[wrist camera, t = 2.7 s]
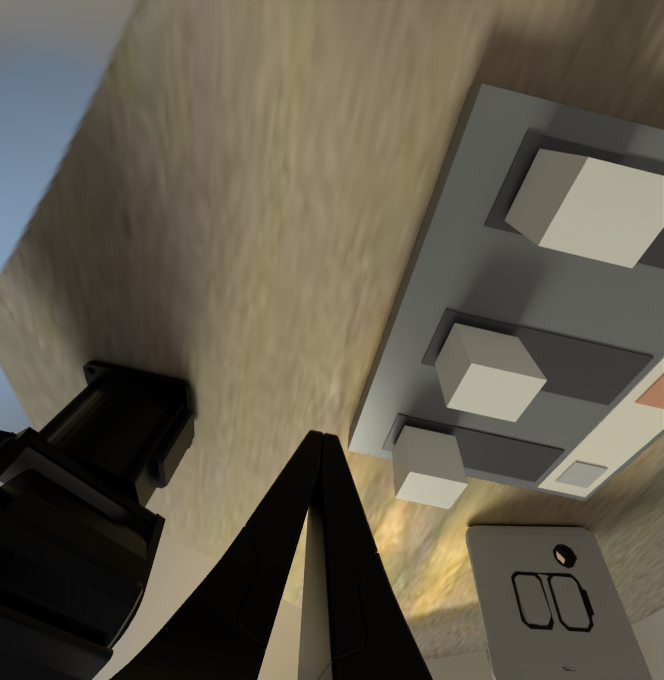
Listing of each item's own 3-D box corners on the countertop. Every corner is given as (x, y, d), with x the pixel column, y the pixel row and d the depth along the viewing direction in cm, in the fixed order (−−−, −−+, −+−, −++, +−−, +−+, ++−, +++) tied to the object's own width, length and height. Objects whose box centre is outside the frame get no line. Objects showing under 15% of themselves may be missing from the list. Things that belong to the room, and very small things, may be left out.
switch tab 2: (434, 363, 16) (446, 407, 14) (454, 322, 15) (471, 363, 13) (493, 376, 16) (515, 422, 14) (518, 337, 15) (547, 380, 13)
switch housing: (348, 432, 22) (347, 453, 21) (470, 87, 12) (483, 82, 10) (573, 480, 23) (586, 504, 22) (880, 191, 12) (945, 200, 11)
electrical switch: (590, 523, 26) (677, 698, 19) (571, 549, 29) (638, 708, 22) (463, 520, 27) (498, 682, 20) (458, 545, 30) (486, 693, 23)
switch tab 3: (504, 220, 12) (538, 245, 10) (539, 148, 11) (588, 157, 9) (580, 238, 13) (632, 268, 10) (623, 169, 11) (696, 184, 9)
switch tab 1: (392, 451, 20) (395, 497, 18) (404, 425, 19) (409, 471, 16) (439, 461, 20) (449, 509, 18) (455, 436, 19) (468, 484, 17)
